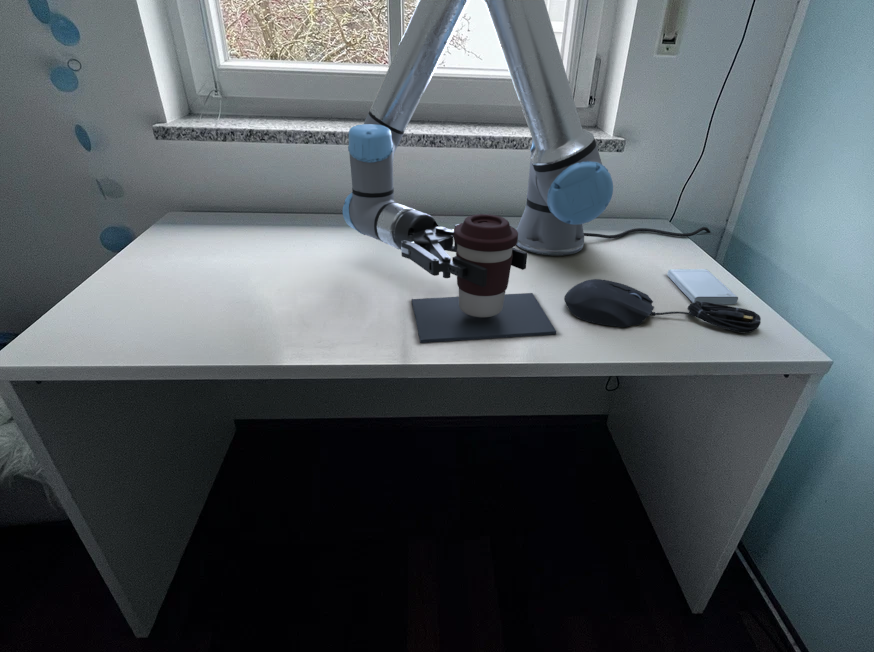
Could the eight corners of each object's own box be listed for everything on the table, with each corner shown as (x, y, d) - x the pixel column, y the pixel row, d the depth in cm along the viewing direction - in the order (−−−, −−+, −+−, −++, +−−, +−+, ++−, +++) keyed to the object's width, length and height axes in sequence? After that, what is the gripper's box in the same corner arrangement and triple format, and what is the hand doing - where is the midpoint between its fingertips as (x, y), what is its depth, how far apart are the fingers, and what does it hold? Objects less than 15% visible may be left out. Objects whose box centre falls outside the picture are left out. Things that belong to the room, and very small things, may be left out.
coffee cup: (507, 326, 86) (516, 234, 78) (445, 318, 87) (448, 228, 79) (512, 298, 95) (521, 213, 86) (456, 292, 96) (459, 207, 88)
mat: (532, 295, 100) (532, 292, 99) (556, 334, 88) (556, 331, 88) (411, 302, 96) (411, 298, 96) (420, 343, 85) (420, 339, 84)
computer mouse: (562, 298, 99) (566, 270, 96) (746, 313, 96) (756, 285, 93) (563, 323, 91) (568, 293, 88) (764, 341, 88) (775, 311, 85)
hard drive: (739, 296, 98) (708, 268, 109) (695, 296, 98) (668, 268, 108) (736, 304, 99) (706, 276, 110) (692, 305, 99) (666, 276, 109)
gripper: (451, 236, 105) (545, 272, 93) (360, 266, 92) (455, 313, 79) (452, 197, 101) (550, 230, 88) (357, 222, 88) (457, 265, 75)
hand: (505, 269), depth 84 cm, fingers closed on coffee cup, 9 cm apart
